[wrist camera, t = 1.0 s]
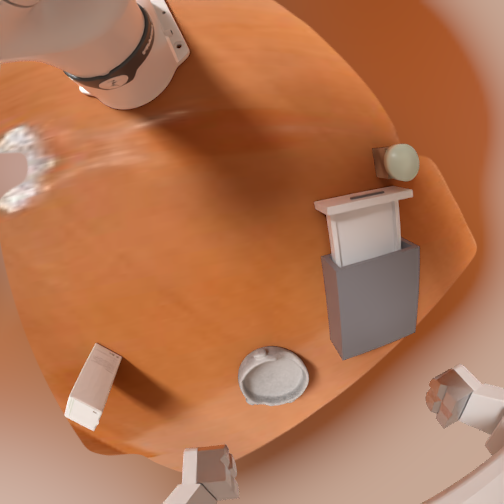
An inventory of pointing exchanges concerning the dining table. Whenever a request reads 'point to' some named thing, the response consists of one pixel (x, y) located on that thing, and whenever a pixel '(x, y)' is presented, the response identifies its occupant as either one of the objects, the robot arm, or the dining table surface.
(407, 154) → the pale green disc
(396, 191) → the white drawer
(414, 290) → the grey drawer cabinet
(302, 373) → the dish
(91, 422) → the skincare box
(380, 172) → the walnut block
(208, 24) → the dining table surface
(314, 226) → the dining table surface
